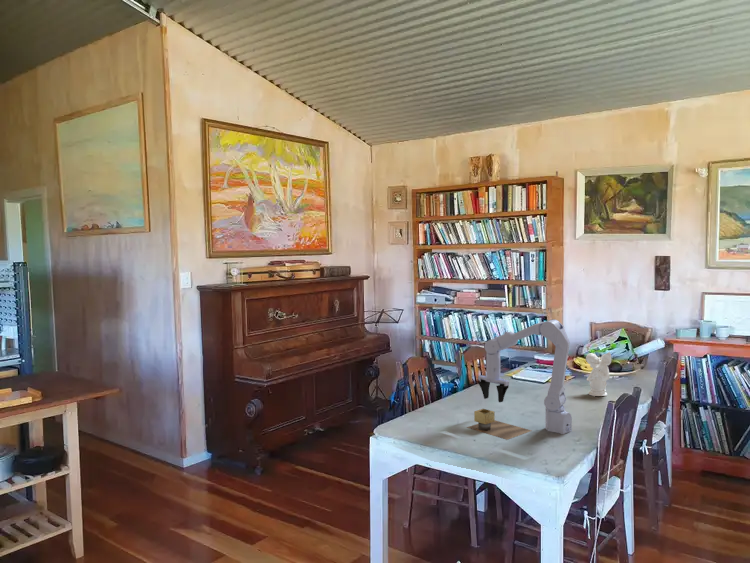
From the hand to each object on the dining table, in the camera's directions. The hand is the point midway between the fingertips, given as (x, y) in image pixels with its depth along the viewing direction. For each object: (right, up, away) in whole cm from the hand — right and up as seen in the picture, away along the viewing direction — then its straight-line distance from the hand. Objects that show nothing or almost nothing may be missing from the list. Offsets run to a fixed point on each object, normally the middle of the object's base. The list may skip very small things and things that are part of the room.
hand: (493, 400), depth 238 cm
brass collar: (-6, -6, -11) cm, 14 cm away
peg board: (0, -10, -11) cm, 15 cm away
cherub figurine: (+62, -6, +43) cm, 76 cm away
